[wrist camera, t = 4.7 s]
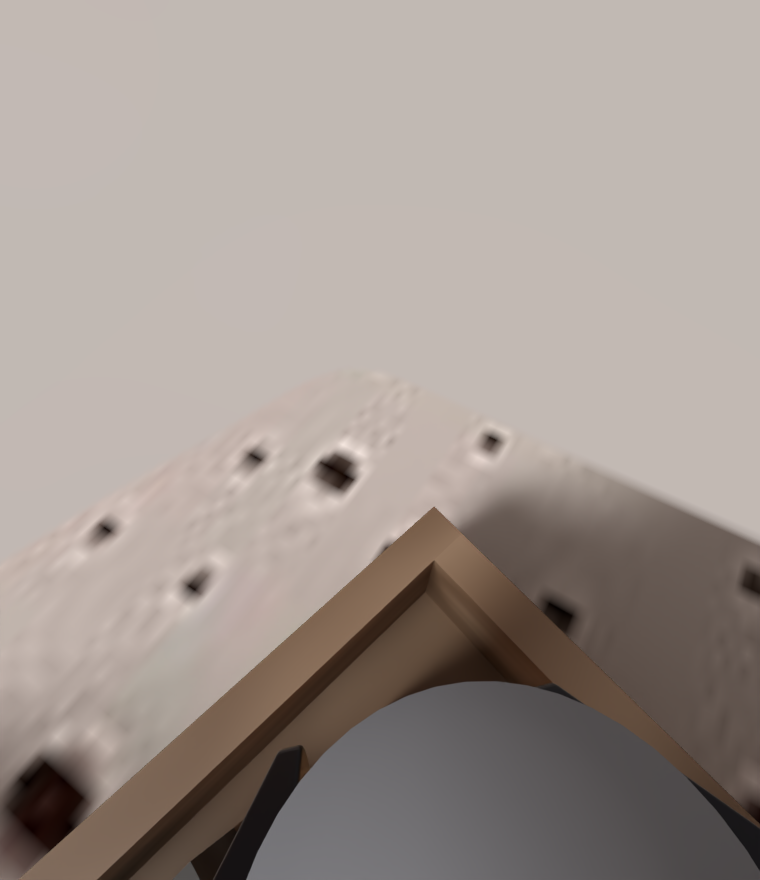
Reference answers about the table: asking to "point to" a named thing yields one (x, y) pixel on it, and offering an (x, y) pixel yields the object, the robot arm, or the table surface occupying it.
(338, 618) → the walled box
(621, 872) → the grey-capped orange cylinder
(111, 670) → the table surface
